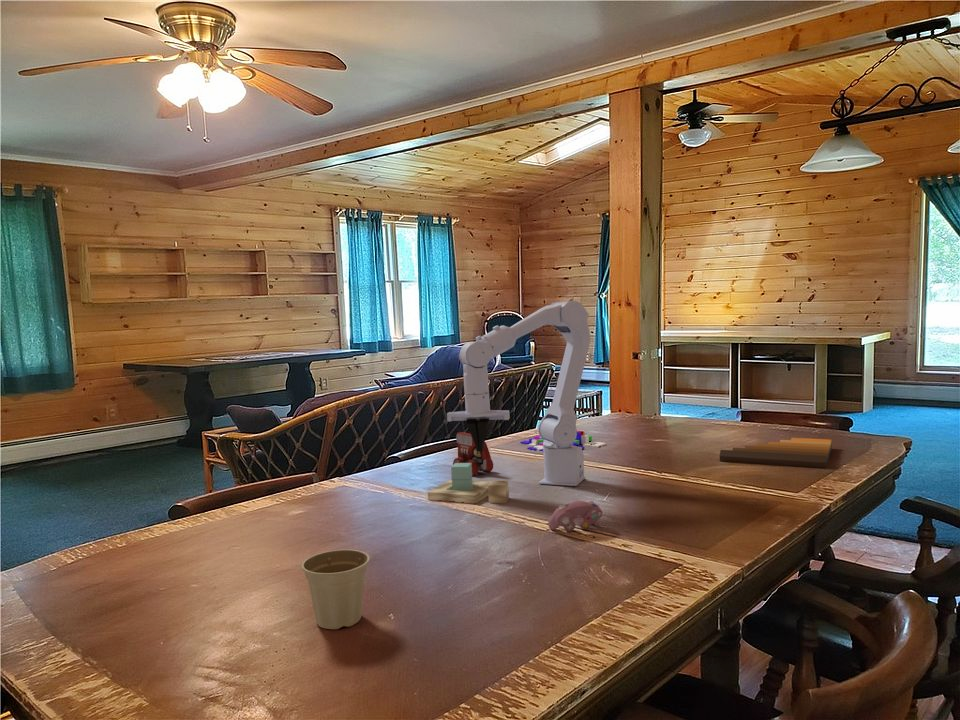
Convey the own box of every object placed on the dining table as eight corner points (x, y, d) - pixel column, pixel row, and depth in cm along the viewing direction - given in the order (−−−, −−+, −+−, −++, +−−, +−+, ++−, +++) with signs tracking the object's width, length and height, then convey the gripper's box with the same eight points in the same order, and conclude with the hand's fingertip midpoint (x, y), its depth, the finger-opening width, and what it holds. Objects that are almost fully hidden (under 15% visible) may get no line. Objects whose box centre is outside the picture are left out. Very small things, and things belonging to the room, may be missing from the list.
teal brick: (473, 487, 161) (471, 462, 160) (469, 492, 157) (468, 466, 156) (456, 487, 162) (454, 463, 161) (452, 492, 158) (451, 467, 157)
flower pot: (377, 604, 101) (373, 547, 100) (368, 633, 92) (365, 571, 91) (313, 607, 101) (309, 550, 100) (298, 638, 91) (294, 575, 91)
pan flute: (719, 463, 179) (825, 470, 167) (719, 451, 179) (825, 457, 166) (736, 445, 201) (831, 450, 188) (736, 434, 200) (831, 438, 188)
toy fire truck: (479, 478, 174) (476, 438, 173) (449, 471, 184) (447, 433, 183) (499, 473, 178) (497, 434, 178) (469, 466, 188) (467, 429, 187)
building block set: (506, 449, 211) (506, 435, 211) (544, 438, 227) (544, 424, 226) (575, 457, 195) (574, 442, 195) (611, 444, 210) (610, 430, 210)
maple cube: (508, 498, 155) (508, 480, 154) (506, 503, 151) (505, 485, 150) (491, 498, 155) (490, 480, 155) (488, 503, 151) (487, 485, 151)
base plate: (496, 489, 162) (496, 482, 162) (475, 503, 151) (475, 495, 151) (451, 486, 167) (451, 479, 167) (428, 499, 156) (427, 492, 156)
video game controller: (553, 542, 129) (559, 514, 125) (545, 525, 132) (550, 497, 129) (601, 534, 131) (607, 507, 128) (591, 518, 135) (597, 491, 132)
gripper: (510, 389, 161) (513, 446, 162) (450, 392, 164) (454, 447, 165) (505, 393, 154) (508, 452, 155) (443, 396, 157) (447, 454, 158)
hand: (480, 450), depth 160 cm, fingers closed
